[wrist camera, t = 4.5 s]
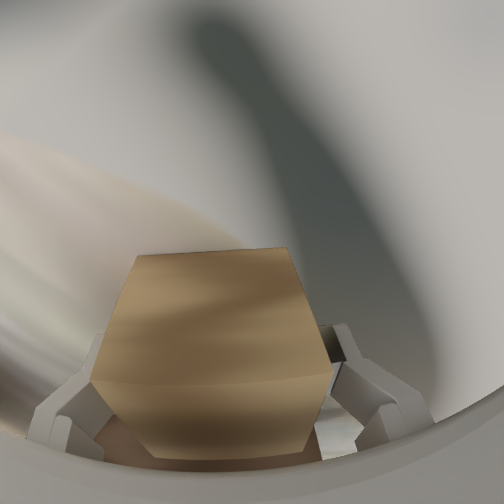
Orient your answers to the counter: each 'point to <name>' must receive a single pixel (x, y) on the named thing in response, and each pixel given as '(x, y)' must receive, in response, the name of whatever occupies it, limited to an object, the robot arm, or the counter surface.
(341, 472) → the robot arm
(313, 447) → the walnut screen
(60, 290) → the counter surface
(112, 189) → the counter surface
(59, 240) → the counter surface
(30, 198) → the counter surface
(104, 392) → the tan cube
